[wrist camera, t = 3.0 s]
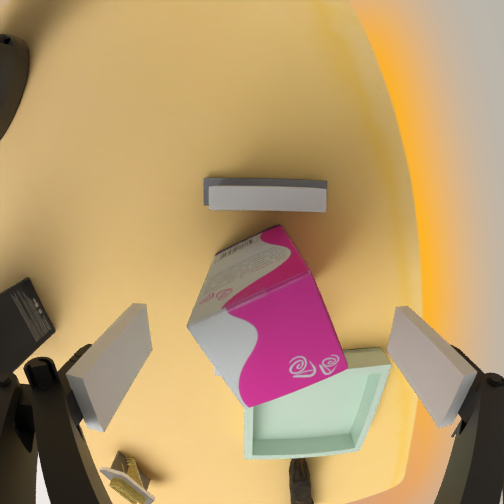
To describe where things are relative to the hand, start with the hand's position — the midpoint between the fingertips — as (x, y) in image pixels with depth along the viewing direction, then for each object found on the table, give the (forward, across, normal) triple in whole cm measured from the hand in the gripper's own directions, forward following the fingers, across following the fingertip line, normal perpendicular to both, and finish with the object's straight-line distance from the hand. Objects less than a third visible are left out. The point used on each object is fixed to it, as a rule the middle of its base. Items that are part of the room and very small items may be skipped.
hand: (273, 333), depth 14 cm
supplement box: (+10, 0, 0) cm, 10 cm away
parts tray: (+10, +5, -14) cm, 17 cm away
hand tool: (+10, +5, -32) cm, 34 cm away
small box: (+9, -29, -6) cm, 32 cm away
